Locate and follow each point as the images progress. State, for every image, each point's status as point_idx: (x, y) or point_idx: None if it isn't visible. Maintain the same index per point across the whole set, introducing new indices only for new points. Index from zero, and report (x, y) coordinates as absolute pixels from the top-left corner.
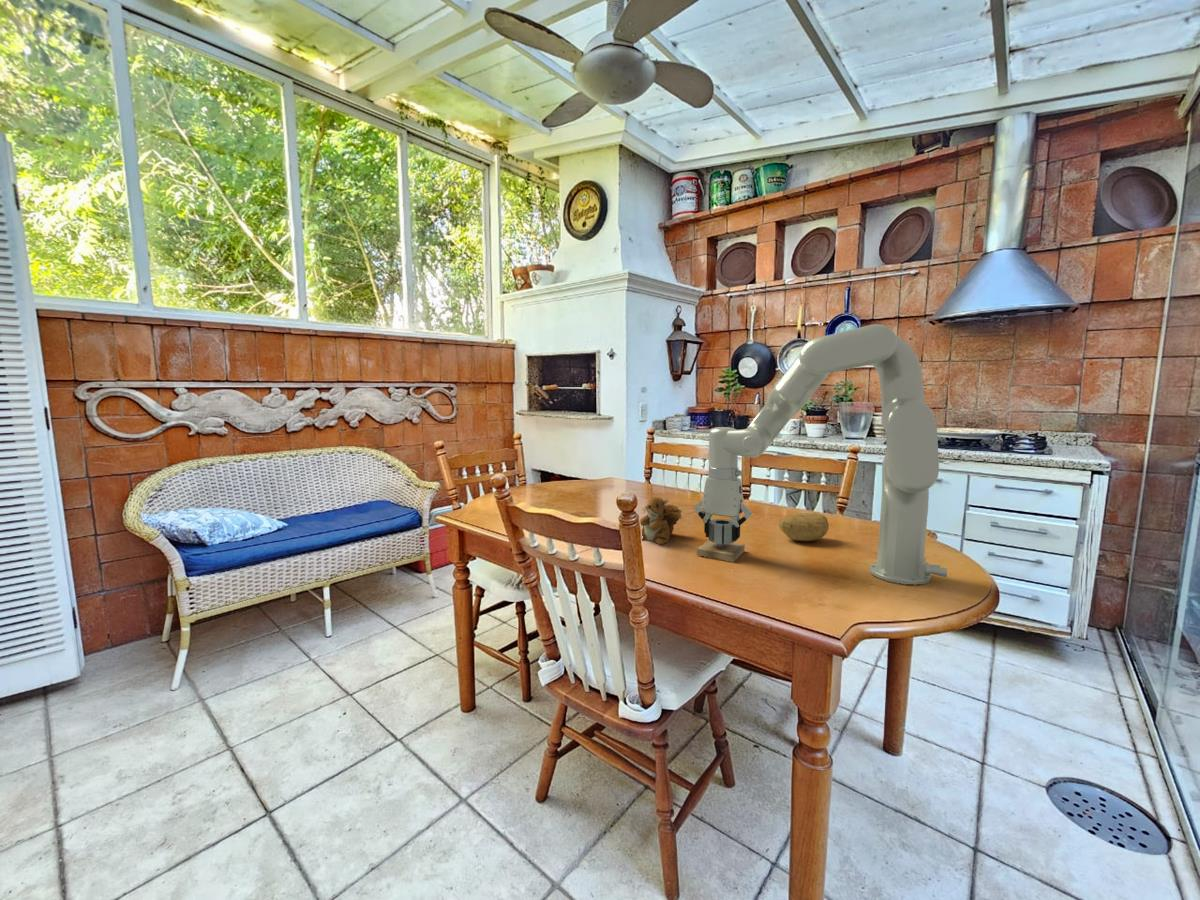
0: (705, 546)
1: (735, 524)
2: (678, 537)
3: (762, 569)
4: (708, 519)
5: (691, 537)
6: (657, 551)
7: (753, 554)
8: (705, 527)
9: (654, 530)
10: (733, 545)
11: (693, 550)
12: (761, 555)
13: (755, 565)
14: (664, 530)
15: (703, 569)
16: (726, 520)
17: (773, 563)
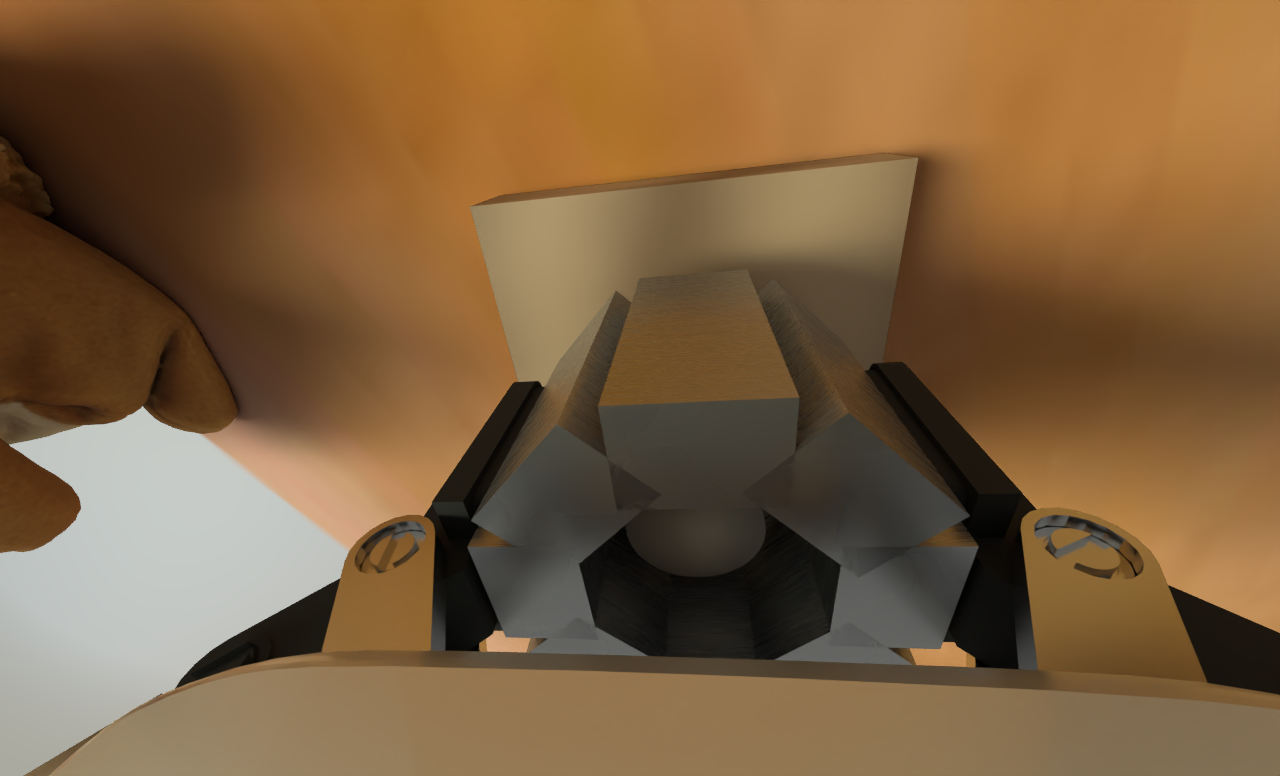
0: None
1: (990, 667)
2: (105, 128)
3: (1068, 486)
4: (462, 626)
5: (166, 21)
6: (336, 513)
7: (991, 193)
8: None
9: (33, 436)
10: (795, 282)
11: (478, 391)
12: (1087, 172)
13: (1014, 444)
14: (51, 369)
15: None
16: (739, 485)
17: (1193, 334)
